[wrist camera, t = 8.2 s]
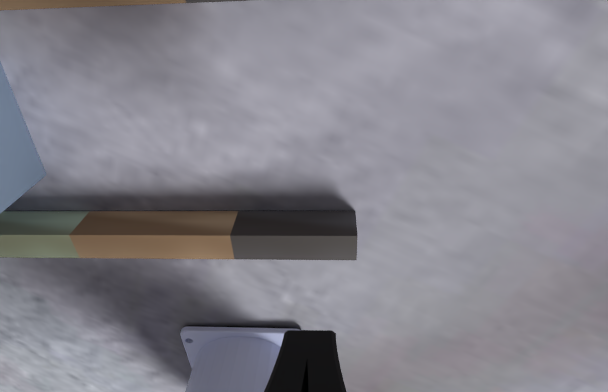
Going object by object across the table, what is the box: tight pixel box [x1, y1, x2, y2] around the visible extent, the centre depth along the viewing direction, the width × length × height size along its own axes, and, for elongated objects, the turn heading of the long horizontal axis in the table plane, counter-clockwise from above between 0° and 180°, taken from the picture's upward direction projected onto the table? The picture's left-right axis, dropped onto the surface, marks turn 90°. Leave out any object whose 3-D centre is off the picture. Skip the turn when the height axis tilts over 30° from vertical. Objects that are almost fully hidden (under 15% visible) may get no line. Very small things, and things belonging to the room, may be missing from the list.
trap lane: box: [0, 0, 357, 260], centre depth 17 cm, size 13×28×2 cm, turn 92°
